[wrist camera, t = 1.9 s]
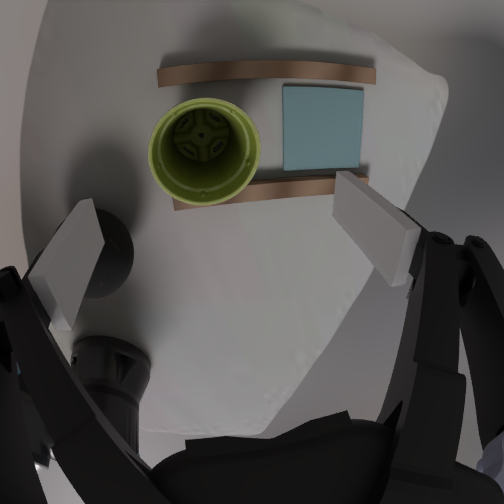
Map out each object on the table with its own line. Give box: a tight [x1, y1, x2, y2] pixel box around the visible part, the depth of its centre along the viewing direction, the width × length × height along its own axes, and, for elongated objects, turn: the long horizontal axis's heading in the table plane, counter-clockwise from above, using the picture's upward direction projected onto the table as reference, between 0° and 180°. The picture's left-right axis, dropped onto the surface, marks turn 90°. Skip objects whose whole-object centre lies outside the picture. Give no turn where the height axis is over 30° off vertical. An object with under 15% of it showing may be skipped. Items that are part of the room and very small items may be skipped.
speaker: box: [54, 209, 134, 298], centre depth 30 cm, size 10×10×10 cm
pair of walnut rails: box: [157, 60, 376, 211], centre depth 31 cm, size 24×16×2 cm, turn 92°
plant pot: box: [148, 98, 261, 205], centre depth 27 cm, size 9×9×9 cm
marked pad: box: [282, 86, 364, 171], centre depth 32 cm, size 10×10×1 cm
